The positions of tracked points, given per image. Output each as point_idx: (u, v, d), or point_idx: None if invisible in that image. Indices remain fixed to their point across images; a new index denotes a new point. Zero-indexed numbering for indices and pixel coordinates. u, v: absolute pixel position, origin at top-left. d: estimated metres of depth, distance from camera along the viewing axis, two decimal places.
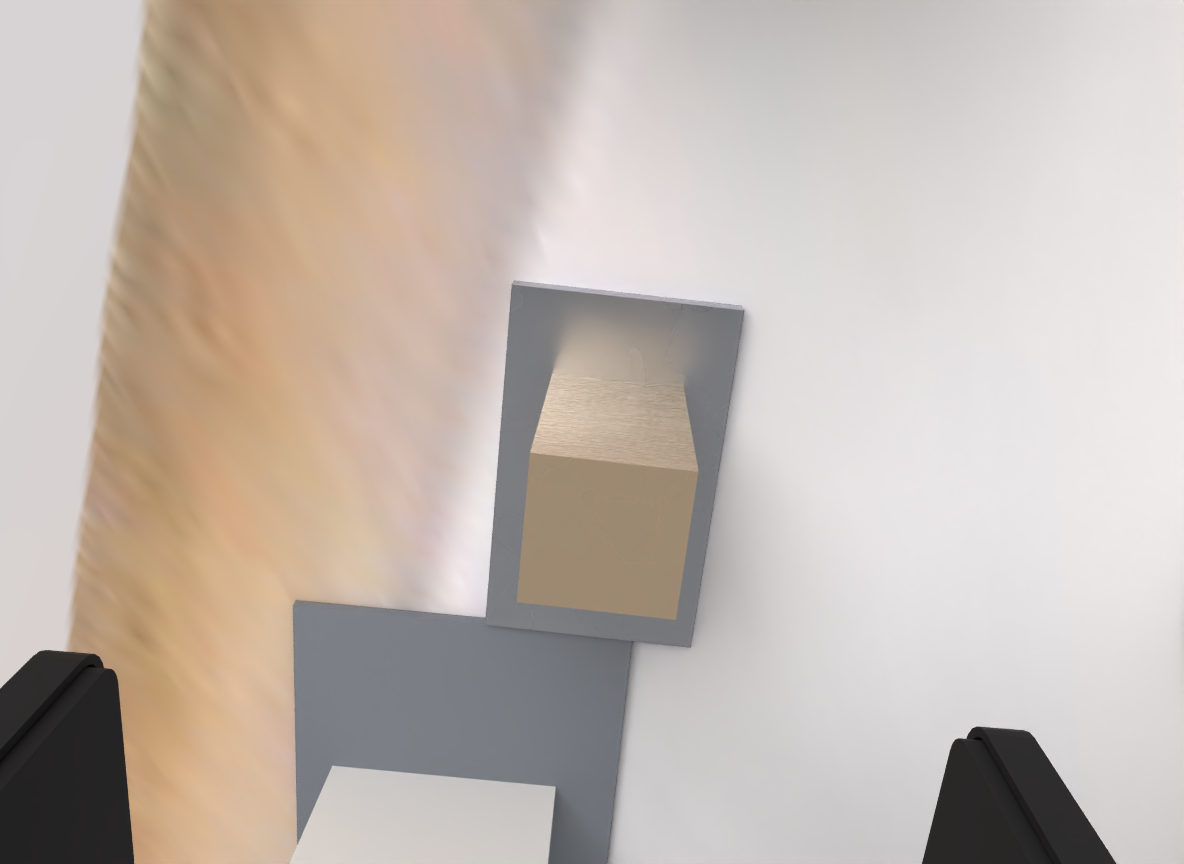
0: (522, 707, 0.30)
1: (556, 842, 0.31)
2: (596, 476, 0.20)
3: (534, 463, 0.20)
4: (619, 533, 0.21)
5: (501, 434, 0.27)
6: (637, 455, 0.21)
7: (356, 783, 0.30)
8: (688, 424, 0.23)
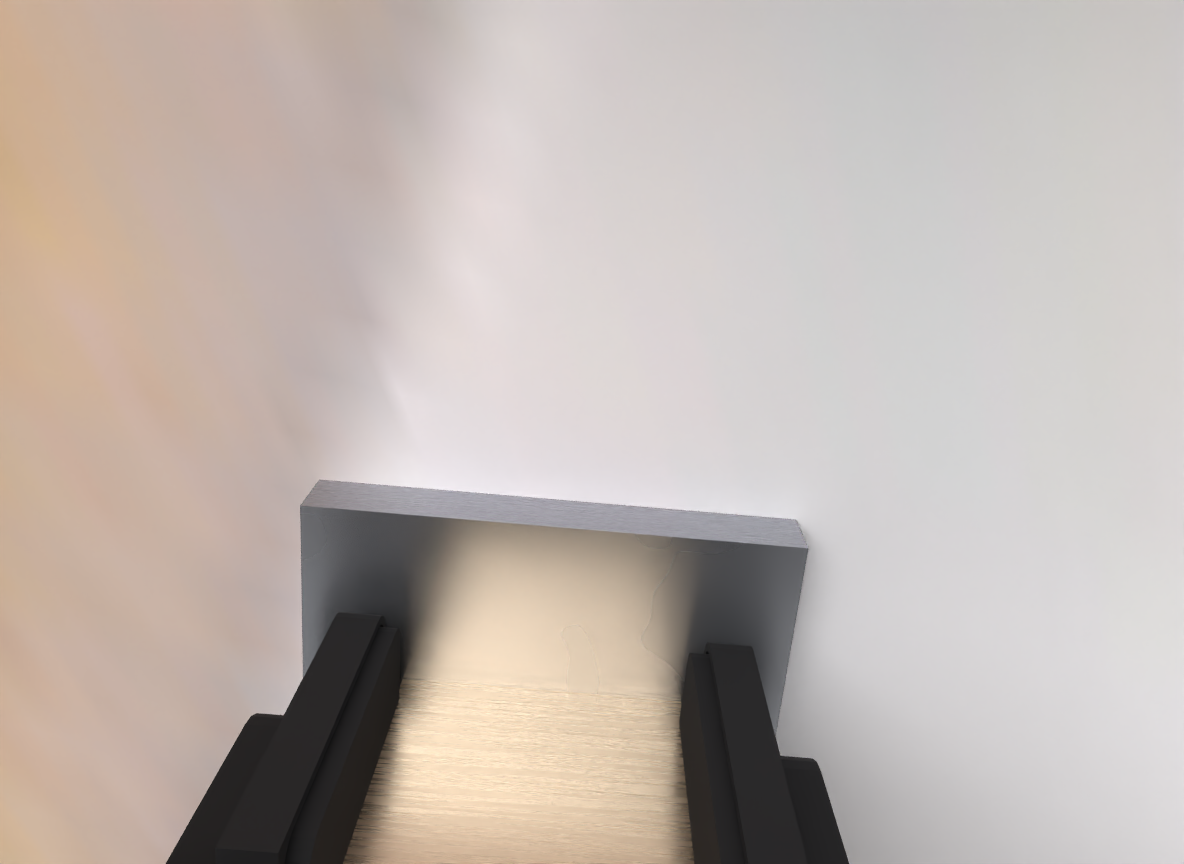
0: None
1: None
2: None
3: None
4: None
5: None
6: None
7: None
8: None
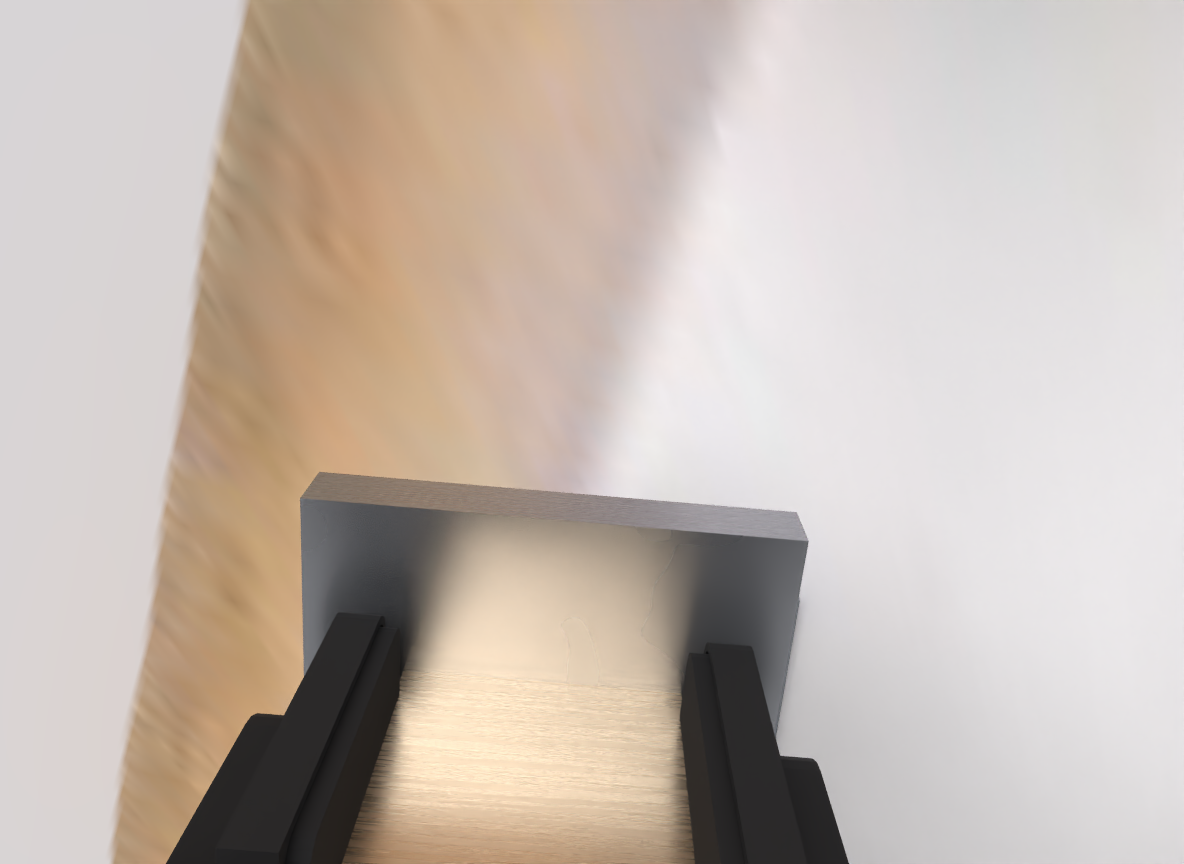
0: None
1: None
2: None
3: None
4: None
5: None
6: None
7: None
8: None
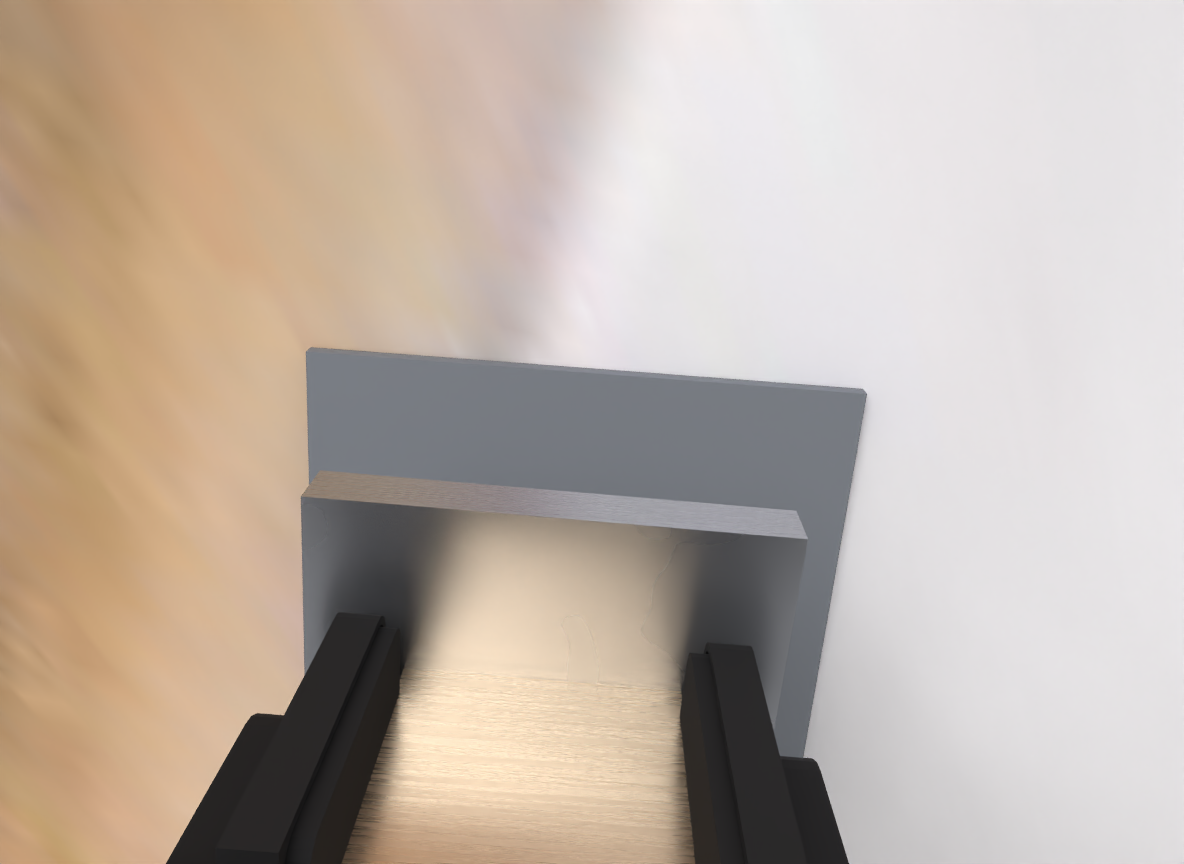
0: None
1: None
2: None
3: None
4: None
5: None
6: None
7: None
8: None
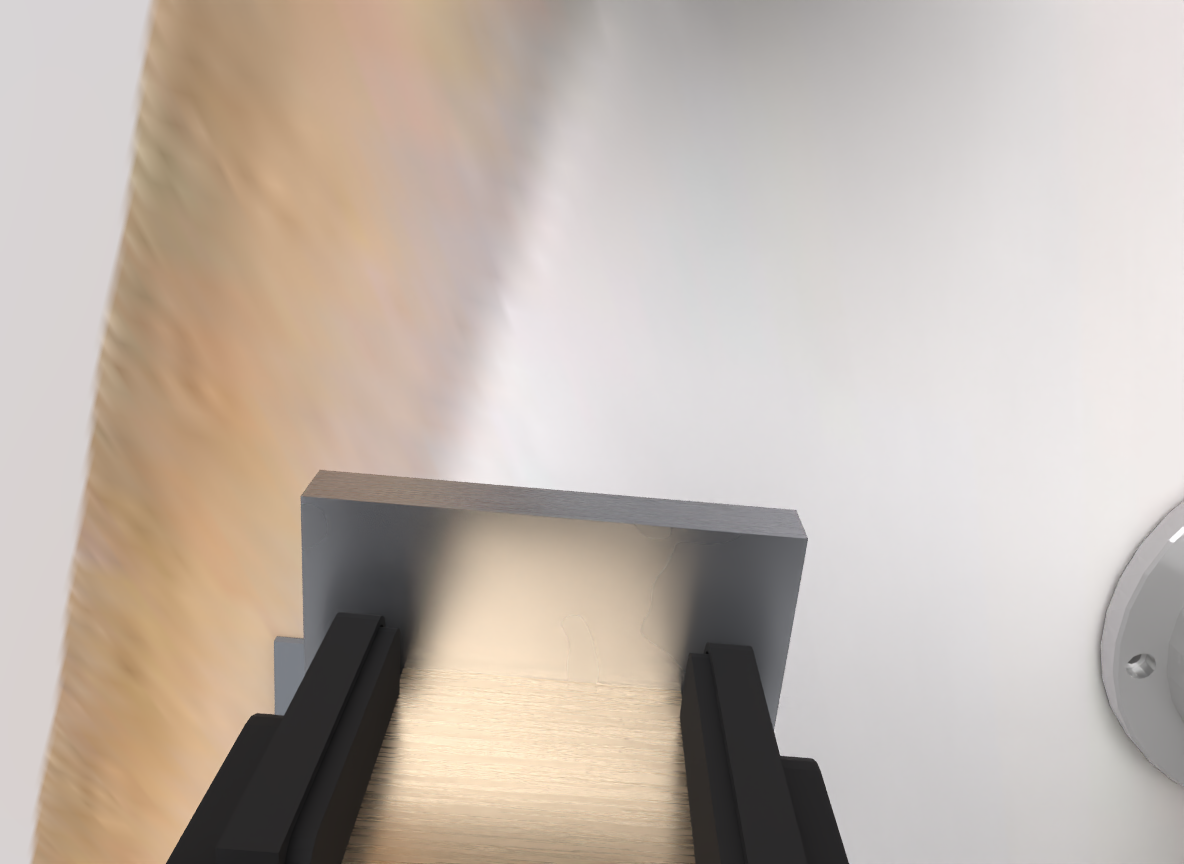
0: None
1: None
2: None
3: None
4: None
5: None
6: None
7: None
8: None
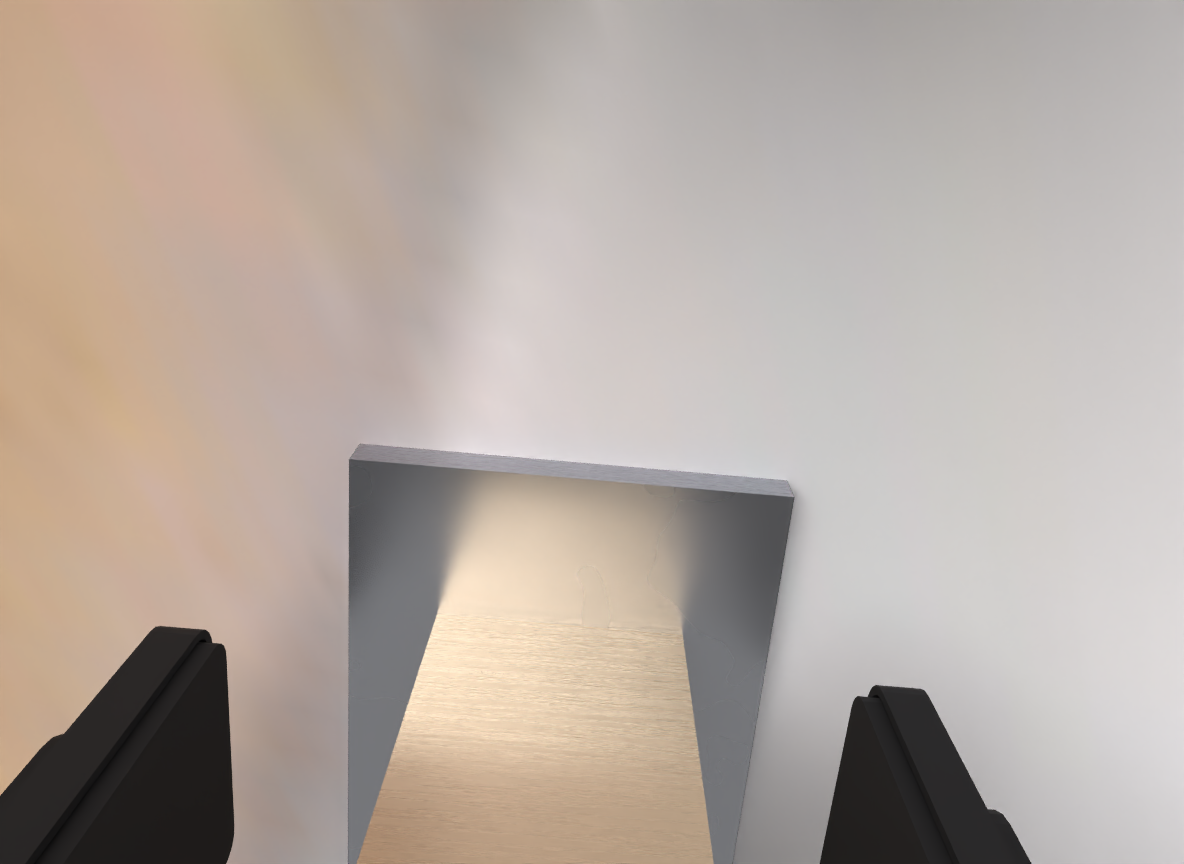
0: None
1: None
2: None
3: None
4: None
5: (350, 717, 0.14)
6: None
7: None
8: (697, 773, 0.11)
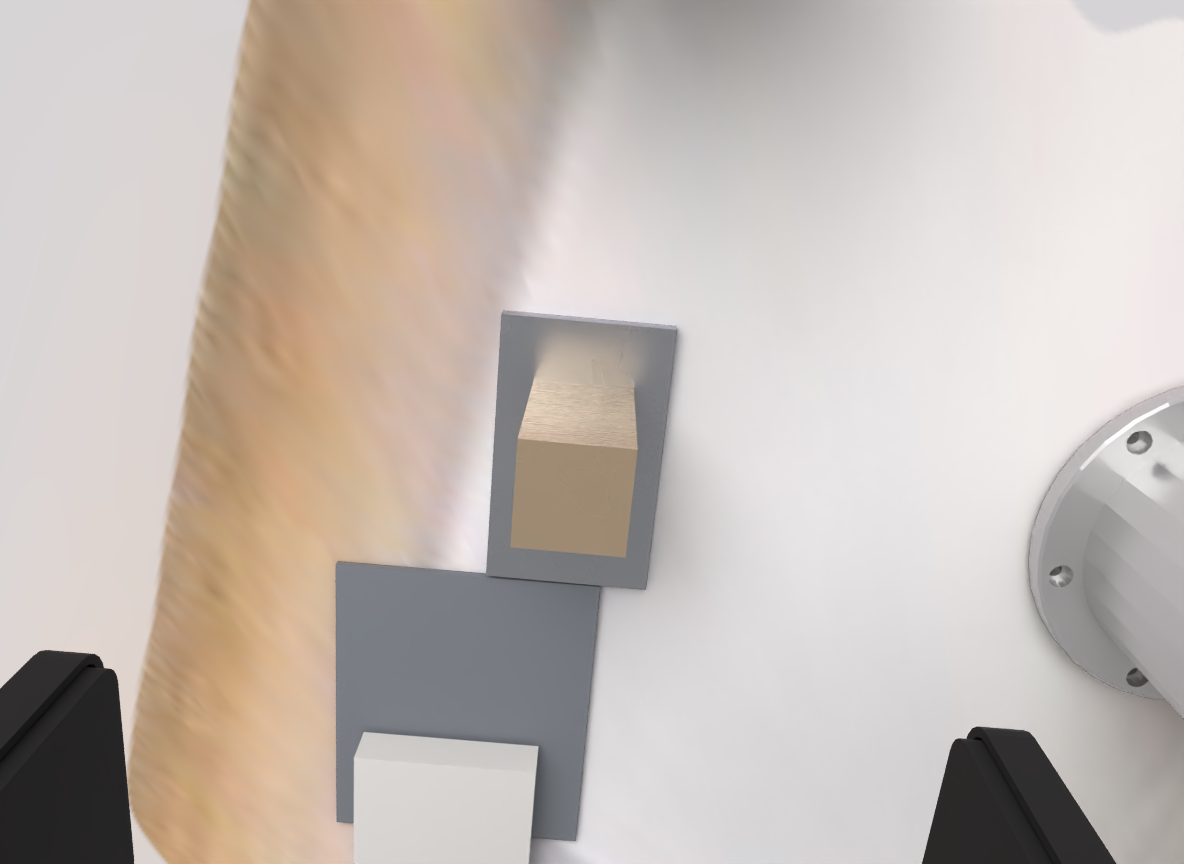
0: (515, 643, 0.38)
1: (542, 752, 0.40)
2: (565, 454, 0.29)
3: (520, 446, 0.28)
4: (583, 495, 0.29)
5: (495, 427, 0.35)
6: (594, 439, 0.29)
7: (377, 774, 0.38)
8: (634, 416, 0.31)
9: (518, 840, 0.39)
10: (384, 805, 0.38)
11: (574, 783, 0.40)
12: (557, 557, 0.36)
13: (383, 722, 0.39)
